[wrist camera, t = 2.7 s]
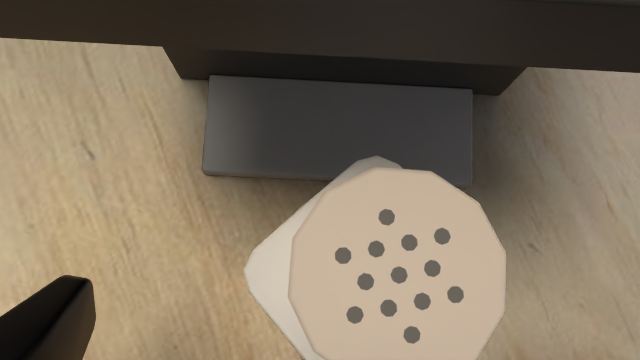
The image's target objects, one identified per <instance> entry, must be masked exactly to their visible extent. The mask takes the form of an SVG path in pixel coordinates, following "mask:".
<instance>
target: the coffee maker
mask: <svg viewBox="0 0 640 360" xmlns="http://www.w3.org/2000/svg"><path fill="white" fill-rule="evenodd" d="M0 38H16V39H34V40H52V41H70V42H88V43H107V44H125V45H143V46H161V47H163V49H164V50H165V52H166V54H167V55H168V57H169V59H170V61H171V62H172V64H173V66H174V68H175V69H176V71H177V73H178V75H179V76H180V78H189V79H207V80H209V88H208V100H207V112H206V124H205V136H204V148H203V159H202V171H203V173H204V174H206V175H219V176H239V177H258V178H278V179H297V180H317V181H333V180H334V179H335V178H336V177H338V176H339V175H340V174H341V173H342V172H344V171H345V170H346V169H347V168H349V167H350V166H351V165H352V164H354V163H355V162H356V161H358V160H362V159H365V158H369V157H373V156H380V157H382V158H384V159H387V160H389V161H392V162H394V163H397V164H399V165H400V166H401V167H402V168H403V169H410V170H424V171H432V172H433V173H435V174H436V175H438V176H439V177H441V178H443V179H444V180H446V181H447V182H449V183H450V184H452V185H453V186H455V187H456V188H468V187H469V186H471V185H472V101H473V94H484V95H500V94H501V93H502V92H503V91H504V90H505V89H506V88H507V87H508V86H509V85H510V84H511V83H512V82H513V81H514V80H515V79H516V78H517V77H518V76H519V75H520V74H521V73H522V72H523V71H524V70H525V69H526V68H527V67H542V68H561V69H579V70H597V71H615V72H633V73H640V0H0Z"/></svg>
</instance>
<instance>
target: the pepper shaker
mask: <svg viewBox="0 0 640 360" xmlns="http://www.w3.org/2000/svg"><path fill="white" fill-rule="evenodd" d="M243 272H244V276H245V280H246V283H247V287H248V290H249V293H250V294H251V295H252V297H253V298H254V299H255V300H256V302H257V303H258V304H259V305H260V307H261V308H262V309H263V310H264V311H265V313H266V314H267V315H268V316H269V318H270V319H271V320H272V321H273V323H274V324H275V325H276V326H277V327H278V329H279V330H280V331H281V332H282V333H283V335H284V336H285V337H286V338H287V339H288V341H289V342H290V343H291V344H292V345H293V347H294V348H295V349H296V350H297V351H298V353H299V354H300V355H301V356H302V357H303V359H304V360H477V359H478V358H479V356H480V354H481V353H482V351H483V349H484V348H485V346H486V344H487V343H488V341H489V339H490V338H491V336H492V334H493V333H494V331H495V329H496V328H497V326H498V324H499V323H500V321H501V319H502V318H503V316H504V314H505V313H506V252H505V250H504V248H503V246H502V244H501V243H500V241H499V239H498V237H497V235H496V233H495V231H494V230H493V228H492V226H491V224H490V222H489V220H488V218H487V216H486V215H485V213H484V211H483V209H482V207H481V205H480V203H479V202H478V201H476V200H475V199H473V198H471V197H470V196H468V195H467V194H465V193H464V192H462V191H461V190H459V189H458V188H456V187H455V186H453V185H452V184H450V183H449V182H447V181H446V180H444V179H443V178H441V177H439V176H438V175H436V174H435V173H433V172H432V171H424V170H410V169H403V168H402V167H401V166H400V165H399V164H397V163H394V162H392V161H389V160H387V159H384V158H382V157H380V156H373V157H369V158H365V159H362V160H358V161H356V162H355V163H354V164H352V165H351V166H350V167H349V168H347V169H346V170H345V171H344V172H342V173H341V174H340V175H339V176H338V177H336V178H335V179H334V180H333V181H331V182H330V183H329V184H328V185H327V186H325V187H324V188H323V189H322V190H321V191H319V192H318V193H317V194H316V195H315V196H314V197H312V198H311V199H310V200H309V201H308V202H306V203H305V204H304V205H303V206H302V207H301V208H299V209H298V210H297V211H296V212H295V213H294V214H293V215H291V216H290V217H289V218H288V219H287V220H286V221H284V222H283V223H282V224H281V225H280V226H279V227H278V228H277V229H275V230H274V231H273V232H272V233H271V234H270V235H269V236H268V237H267V238H265V239H264V240H263V241H262V242H261V243H260V244H259V245H258V246H257V247H255V248H254V249H253V251H252V253H251V255H250V257H249V259H248V261H247V263H246V265H245V267H244V270H243Z"/></svg>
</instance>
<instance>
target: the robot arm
mask: <svg viewBox="0 0 640 360" xmlns="http://www.w3.org/2000/svg"><path fill="white" fill-rule="evenodd" d="M95 321H96V312H95V302H94V293H93V285H92V282H91V281H90V280H89V279H87V278H82V277H77V276H71V275H64V276H61V277H59V278H57V279H56V280H54V281H53V282H51V283H50V284H48V285H47V286H46V287H44V288H43V289H41V290H40V291H38V292H37V293H35V294H34V295H32V296H31V297H29V298H28V299H26V300H25V301H23V302H22V303H20V304H19V305H17V306H16V307H14V308H13V309H11V310H10V311H8V312H7V313H5V314H4V315H2V316H1V317H0V360H82V359H83V356H84V354H85V351H86V348H87V346H88V343H89V340H90V338H91V335H92V333H93V330H94V326H95Z"/></svg>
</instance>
